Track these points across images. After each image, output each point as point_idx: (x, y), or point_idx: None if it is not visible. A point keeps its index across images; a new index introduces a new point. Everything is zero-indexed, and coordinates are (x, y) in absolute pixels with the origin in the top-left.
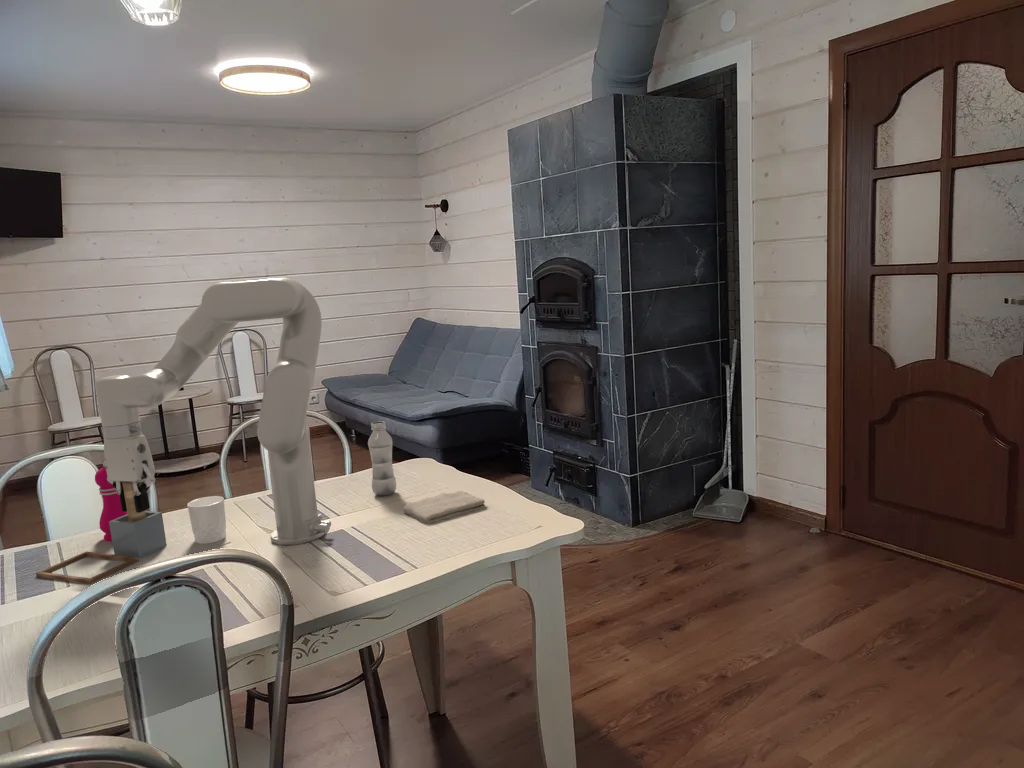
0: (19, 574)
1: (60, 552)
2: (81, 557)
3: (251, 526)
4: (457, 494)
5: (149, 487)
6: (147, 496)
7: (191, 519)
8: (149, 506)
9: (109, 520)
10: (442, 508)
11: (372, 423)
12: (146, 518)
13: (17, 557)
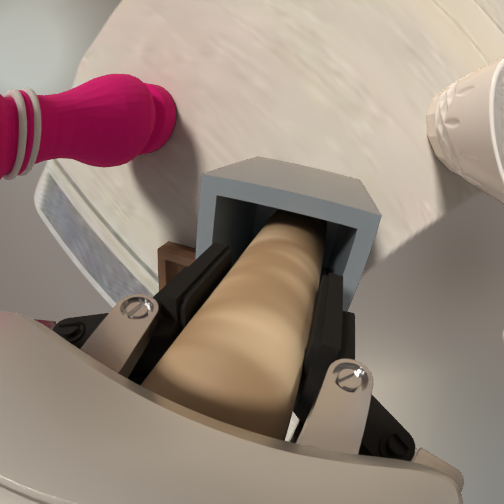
0: (117, 300)
1: (89, 205)
2: (168, 267)
3: (490, 30)
4: None
5: (395, 420)
6: (341, 323)
7: (484, 189)
8: (342, 277)
9: (107, 162)
10: None
11: None
12: (350, 302)
13: (57, 230)
